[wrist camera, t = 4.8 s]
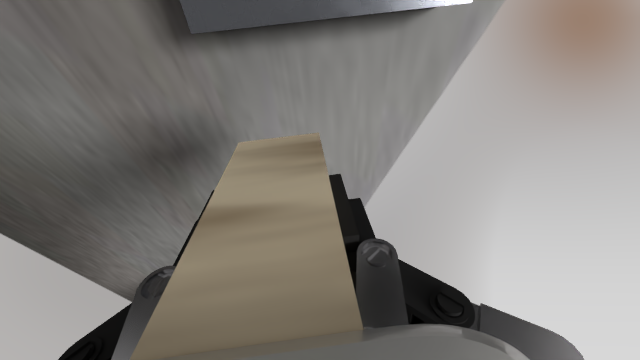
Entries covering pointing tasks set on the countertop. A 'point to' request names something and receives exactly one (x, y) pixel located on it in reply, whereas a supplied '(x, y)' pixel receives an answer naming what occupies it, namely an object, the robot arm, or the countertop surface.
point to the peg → (259, 258)
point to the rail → (288, 11)
